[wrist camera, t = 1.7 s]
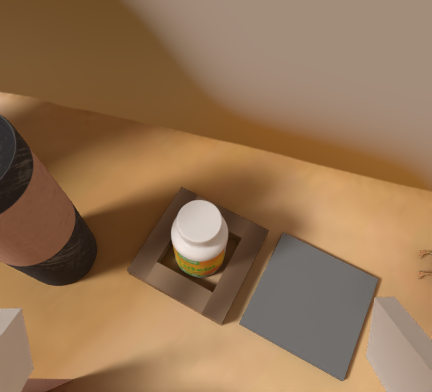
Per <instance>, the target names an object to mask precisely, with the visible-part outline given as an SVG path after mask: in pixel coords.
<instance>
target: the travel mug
mask: <svg viewBox="0 0 432 392" xmlns="http://www.w3.org/2000/svg"><path fill="white" fill-rule="evenodd" d="M96 253H97V245H96V241H95V238H94V236H93V234H92V233H91V231H90V229H89V228H88V226H87V225H86V223H85V222H84V220H83V219H82V217H81V216H80V214H79V212H78V211H77V209H76V208H75V206H74V205H73V203H72V202H71V200H70V199H69V198H68V196H67V195H66V194H65V192H64V191H63V190H62V189H61V187H60V186H59V185H58V183H57V182H56V181H55V180H54V178H53V177H52V176H51V174H50V173H49V172H48V171H47V169H46V168H45V167H44V165H43V164H42V163H41V161H40V160H39V159H38V158H37V156H36V155H35V154H34V152H33V151H32V150H31V149H30V147H29V146H28V145H27V143H26V142H25V141H24V140H23V138H22V137H21V136H20V134H19V133H18V132H17V130H16V129H15V128H14V127H13V125H12V124H11V123H10V122H9V121H8V120H7V119H6V118H5V117H3V116H2V115H0V261H2V262H3V263H5V264H7V265H9V266H11V267H13V268H15V269H17V270H19V271H21V272H23V273H25V274H27V275H29V276H31V277H33V278H35V279H37V280H39V281H41V282H43V283H46V284H48V285H53V286H62V285H67V284H71V283H73V282H75V281H77V280H79V279H80V278H82V277H83V276H84V275H85V274H86V273H87V272H88V271H89V270H90V268H91V267H92V265H93V263H94V261H95V258H96Z"/></svg>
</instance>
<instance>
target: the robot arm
mask: <svg viewBox="0 0 432 392" xmlns="http://www.w3.org/2000/svg"><path fill="white" fill-rule="evenodd" d="M366 358H367V359H368V361H369V363H370V365H371V366H372V368H373V370H374V371H375V373H376V375H377V377H378V378H379V380H380V382H381V383H382V385H383V387H384V389H385V390H386V392H432V340H431V339H430V338H429V336H428V335H427V334H426V333H425V332H424V331H423V329H422V328H421V327H420V326H419V325H418V324H417V322H416V321H415V320H414V319H413V318H412V317H411V315H410V314H409V313H408V312H407V311H406V310H405V308H404V307H403V306H402V305H401V304H400V303H399V302H398V300H397V299H396V298H395V297H375V298H374V305H373V312H372V319H371V326H370V333H369V339H368V346H367V353H366ZM33 369H34V367H33V362H32V357H31V352H30V347H29V342H28V337H27V332H26V327H25V322H24V317H23V312H22V308H7V309H0V392H21V391H22V389H23V387H24V385H25V383H26V382H27V380H28V378H29V376H30V374H31V373H32V371H33Z"/></svg>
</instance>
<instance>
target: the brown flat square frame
mask: <svg viewBox="0 0 432 392" xmlns="http://www.w3.org/2000/svg"><path fill="white" fill-rule="evenodd" d="M195 200H204V201H208V202H210V203H212V204H213V205H215V206H216V207H217V208H218V210H219V211H220V213H221V215H222V217H223V218H224V220H225V222H226V224H227V227H228V237H230V238H232V239H234V240H236V241H238V242H239V244H238V246H237V248H236V250H235V252H234V254H233V255H232V257H231V259H230V261H229V263H228V265H227V267H226V268H225V270H224V272H223V274H222V276H221V278H220V280H219V282H218V283H217V285H216V287H215V289H214V291H213V292H211V291H209V290H207V289H206V288H204V287H202V286H200V285H198V284H196V283H195V282H193V281H191V280H189V279H187V278H185V277H184V276H182V275H180V274H178V273H176V272H175V271H173V270H171V269H169V268H167V267H165V266H164V265H162V264H160V263H161V261H162V259H163V258H164V256H165V255H166V253H167V251H168V250H169V248H170V246H171V245H172V239H171V229H172V225H173V222H174V220H175V219H176V217H177V215H178V213H179V211H180V210H181V208H182V207H183V206H184V205H185V204H187V203H189V202H191V201H195ZM268 231H269V230H267V229H265V228H263V227H261V226H259V225H257V224H255V223H253V222H251V221H249V220H247V219H245V218H243V217H241V216H239V215H237V214H235V213H233V212H231V211H229V210H227V209H225V208H223V207H221V206H219V205H217V204H215V203H213V202H211V201H209V200H207V199H205V198H203V197H201V196H199V195H197V194H195V193H193V192H191V191H189V190H187V189H185V188H183V187H181V188H180V190H179V191H178V193H177V194H176V196H175V197H174V199H173V201H172V202H171V204H170V205H169V207H168V208H167V210H166V211H165V213H164V214H163V216H162V217H161V219H160V220H159V222H158V223H157V225H156V227H155V228H154V230H153V231H152V233H151V234H150V236H149V237H148V239H147V240H146V242H145V243H144V245H143V246H142V248H141V249H140V251H139V252H138V254H137V256H136V257H135V259H134V260H133V262H132V263H131V265H130V266H129V268H128V269H127V271H128V272H129V274H130V275H132V276H134V277H136V278H138V279H139V280H141V281H143V282H145V283H146V284H148V285H150V286H152V287H154V288H155V289H157V290H159V291H161V292H162V293H164V294H166V295H168V296H170V297H171V298H173V299H175V300H177V301H178V302H180V303H182V304H184V305H185V306H187V307H189V308H191V309H193V310H194V311H196V312H198V313H200V314H201V315H203V316H205V317H207V318H209V319H210V320H212V321H214V322H216V323H217V324H219V325H222V323H223V321H224V319H225V317H226V315H227V313H228V311H229V309H230V307H231V305H232V303H233V301H234V299H235V297H236V295H237V293H238V291H239V289H240V287H241V285H242V283H243V281H244V279H245V277H246V275H247V273H248V272H249V270H250V268H251V266H252V264H253V262H254V260H255V258H256V256H257V254H258V252H259V250H260V248H261V246H262V244H263V242H264V240H265V238H266V236H267V234H268Z"/></svg>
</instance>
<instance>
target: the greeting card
mask: <svg viewBox="0 0 432 392" xmlns="http://www.w3.org/2000/svg"><path fill="white" fill-rule="evenodd" d="M71 380H73V379H28V380H27V382H26V383H25V385H24V387H23V389H22V391H21V392H46V391H49V390H51V389H53V388H55V387H58V386H60V385H62V384H64V383H67V382H69V381H71Z"/></svg>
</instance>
